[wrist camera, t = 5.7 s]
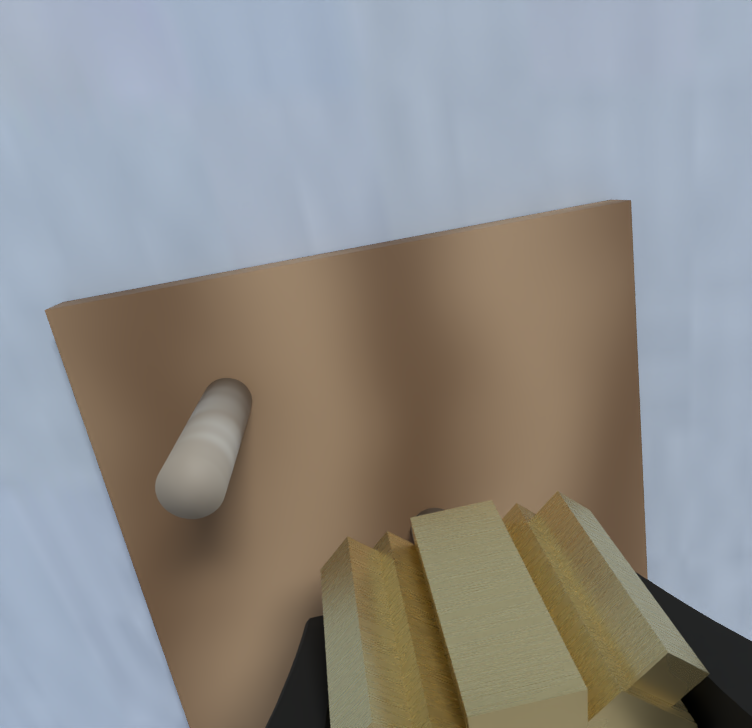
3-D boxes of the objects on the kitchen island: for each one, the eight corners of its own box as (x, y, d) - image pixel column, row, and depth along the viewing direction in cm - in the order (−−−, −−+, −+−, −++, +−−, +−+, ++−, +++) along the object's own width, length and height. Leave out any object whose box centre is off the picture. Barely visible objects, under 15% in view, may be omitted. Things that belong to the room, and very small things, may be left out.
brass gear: (584, 477, 11) (723, 654, 8) (586, 664, 14) (695, 870, 10) (312, 535, 11) (325, 749, 7) (360, 717, 13) (386, 949, 10)
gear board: (611, 199, 15) (767, 204, 10) (643, 815, 22) (749, 1016, 16) (62, 302, 15) (-82, 365, 9) (265, 903, 21) (248, 1141, 16)
